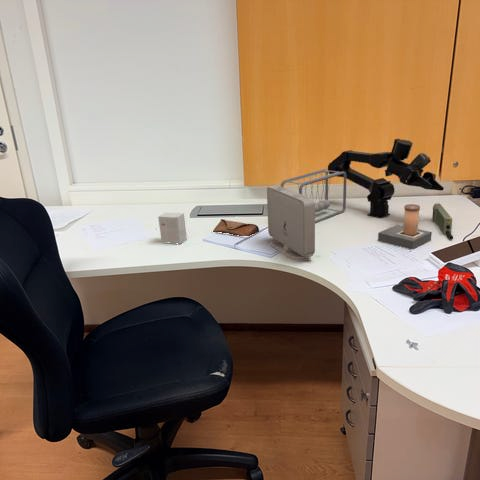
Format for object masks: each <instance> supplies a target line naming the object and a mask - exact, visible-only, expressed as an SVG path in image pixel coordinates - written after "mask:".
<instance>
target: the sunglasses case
mask: <svg viewBox="0 0 480 480" xmlns="http://www.w3.org/2000/svg"><path fill="white" fill-rule="evenodd" d="M212 231H213V232H222V233H229V234H233V235H239V236H250V235H252V234H255V233H257V232H260V228H259V226H258V225H257V224H254V223H245V222H241V221H232V220H227V219H224V218H221V219H220V221H219V222H218V224H217V225H216V226H215V227H214V229H213V230H212ZM257 234H258V233H257ZM255 235H256V234H255Z"/></svg>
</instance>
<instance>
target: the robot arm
mask: <svg viewBox="0 0 480 480" xmlns="http://www.w3.org/2000/svg"><path fill="white" fill-rule="evenodd" d="M412 147H413V142H412V141H411V140H408V139H407V140H406V139H402V138H401V139H400V138H395V139H394V141H393V145H392V149H391V152H390V151H381V152H374V153H372V152H363V151H357V150H351V149H350V150H349V149H348V150H344V151H342V152H341V153H340V154H339V155H338V156H337V157H336V158H334V159H333V160H331V162H329V164H328V166H327V170H328V171H336V172H343V171H344V172H345V173H346V176H347V177H346V180H348V181H350V182H352V183H354V184H356V185H358V186H360V187H362V188H364V189H366V190H368V191H369V194H367V197H366V198H367V202H369V203H370V206H369V208H370V209H369V213H367V216H370V217H375V218H380V219H382V218H384V217H387V216H390V213H389V212H390V211H389V209H390V205H389V201H390V200H392V197H393V195H395V190H396V189H395V187H394V184H393V183H392V182H391V180H387V179H385V178H384V177H381V178H380V177H379V178H377V179H373V178H372V177H369V176H367V174H364V173H362V172H359V171H357V170H355V169H353V168H351V166H350V165H351V164H352V162H355V163H362V164H368V165H370V167H373V168H376V169H383V168H386V169H384V172H385V173H384V175H385V177H390V176H393V175H394V176H396V177H397V178H398V179H399V183H401V184H403V185H404V186H405V185H406V186H410V187H417V188H418V187H419V188H421V189H424V190H430V191H440V192H441V191H444V189H445V187H444V186H443V185H441V184H440V183H439V182H438V181H437V180H436V178H437V174H435V173H433V172H432V171H425V172H424V168H425V167H426V166H428V164H430V163H431V158H430V156H428V155H427V154H426V153H424V152H420V153H419V154H417V156H415V157H414V158H413V160H411V162H410V163H408V162H405V160H407V159H408V158H409V155H410V152H411V151H412ZM336 172H328V175H330V174H333V173H336ZM423 172H424V173H423ZM422 173H423V174H422ZM335 177H338V178H344V175H343V174H342V175H339V176H335Z"/></svg>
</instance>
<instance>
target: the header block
mask: <svg viewBox="0 0 480 480" xmlns="http://www.w3.org/2000/svg"><path fill="white" fill-rule="evenodd" d="M403 229H404V225H401V224H395V225H393V226H391V227H388V228H386V229H383V230H381V231H379V232H378V233H377V242H381V243H385V244H390V245H393V246H397V247H400V246H401V247H400V248H404V247H405V249H408V250H412V249H413V250H414V249H416V248H419V247H420V246H423V245H425V244H427V243H429V242H430V241H432V235H433V233H432V231H428V230H425V229H419V228H418V229H417V235H416V236H414V237H412V236H408V235H404V234H403ZM418 246H419V247H418Z"/></svg>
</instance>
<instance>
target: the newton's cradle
mask: <svg viewBox="0 0 480 480" xmlns="http://www.w3.org/2000/svg"><path fill="white" fill-rule="evenodd" d="M329 172H336V171H328V169H325V168H324V169H321V170H317V171H313V172H310V173H309V172H308V173H306V174H302V175H298V176H295V177H292V178H291V177H290V178H287V179H284V180H282V182H281V183H280V186H281V187H283V188H285V184H286V183H289V184H295V185H296V184H297V187H298V193H299V194H301V195H303V188H304V190H305V192H304V194H305V196H306V197H308V195H307V186H308V185H310V188H311V192H310V193H311V194H310V195H311V196H310V197H309V198H312V196H314V193H313V188H314V183H317V185H316V188H317V194H316V196H315V198H317V195H318V196H320V194H319V184H320V182H321V183H324V185H322V190H324V191H322V192H321V195H323V194H324V199H323V198H322V197H321V199H320V198H318V201H317V200H314V198H312V199H313V200H314V202H315V214H316V213H318V212H320V211H321V212H322V211H323V209H324V210H331V211H334V213H331V214H328V215H325V216H323V217H320V218H318V219H315V224H317V223H320V222H323V221H324V220H328V219H330V218H332V217H335V216H338V215H340V214H342V213H344V212H345V211H346V208H347V207H346V205H347V179H346V177H347V176H346V173H345V172H344V171H343V172H336V173H333V174H329ZM342 174H343V175H344V177H343V187H342V188H343V191H342V193H343V194H342V209H341V210H338V209H335V208H330V207H331V201H330V200H329V191H330V190H329V189H330V187H329V185H330V184H331V181H329V180H331V178H335V177H336V176H339V175H342ZM318 175H319V177H317V176H318ZM311 177H315V178H311ZM308 178H311V179H308ZM296 181H302V182H296ZM324 187H325V188H324ZM316 201H317V202H316Z"/></svg>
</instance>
